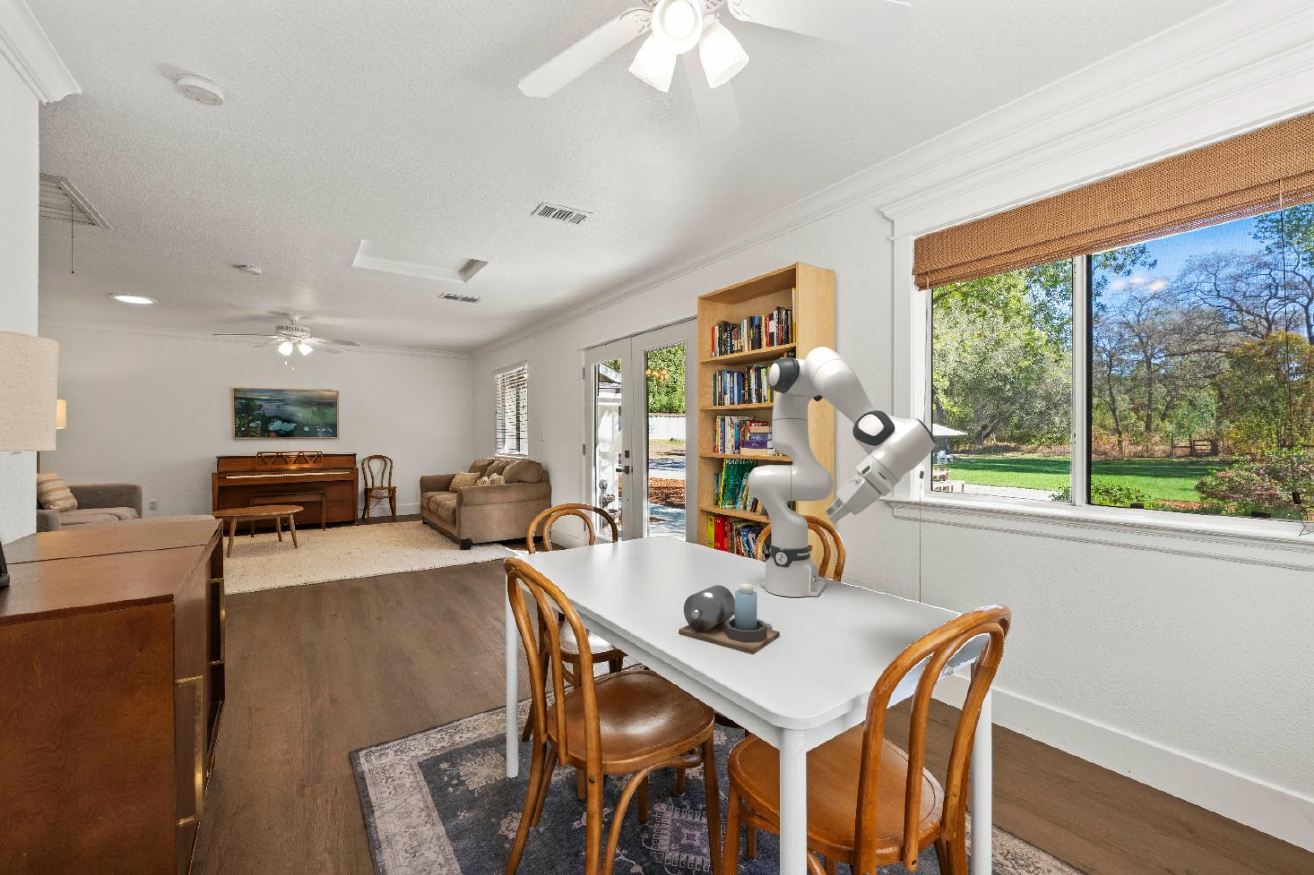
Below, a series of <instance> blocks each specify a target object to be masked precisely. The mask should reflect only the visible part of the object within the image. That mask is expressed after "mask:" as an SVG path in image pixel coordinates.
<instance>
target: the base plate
mask: <svg viewBox="0 0 1314 875" xmlns="http://www.w3.org/2000/svg"><path fill="white" fill-rule="evenodd" d="M729 620H730V619H729ZM729 620H727V621H729ZM727 621H725V622H727ZM725 622H723V623H721V624H719V625H717V626H715V627H713V628H712V629H710V630H708V631H705V632H699V631H696V630H695V629H693V628H692V627H691V626H690V625H689V624H688V625H685V626H683V627H681V628H680V629H678V635H682V636H686V637H689V638H693V639H696V640H701V641H704V642H708V643H712V644H714V643H715V644H714V645H719V646H722V647H725V648H729V649H732V650H737V651H740V652H743V653H748V654H750V655H754V654H755V653H757V652H758V651H759V650H761V649H763V648H764V647H765V646H767V645H768V644H770V643H771V642H773V641H774V640H776V639H777V638H779V637H780V631H778V630H775V629H772V630H770V629H767V637H766V638H765V639H763V640H762V641H760V642H746V643H743V642H739V641H736V640H732V639H729V638H728V637H727V635H726V634H725Z"/></svg>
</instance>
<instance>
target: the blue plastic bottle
mask: <svg viewBox="0 0 1314 875" xmlns="http://www.w3.org/2000/svg"><path fill="white" fill-rule="evenodd" d="M738 586H739V589H738V590H735V591H734V599H735V616H734V618H735V628H736V629H740V630H757V618H758V592H757V591H755V590H754V585H753V583H750V582H739V585H738Z"/></svg>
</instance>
